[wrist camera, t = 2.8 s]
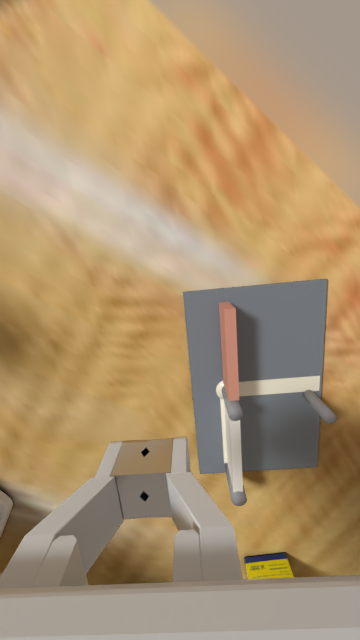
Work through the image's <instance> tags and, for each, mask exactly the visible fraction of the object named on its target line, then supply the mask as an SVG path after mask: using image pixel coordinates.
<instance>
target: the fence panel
mask: <svg viewBox="0 0 360 640" xmlns="http://www.w3.org/2000/svg"><path fill="white" fill-rule="evenodd" d="M219 317H220V334H221V352H222V369H223V384H224V387H225V390H226V393H227V396H228V400H229V401H235V400H239V379H238V354H237V329H236V308H235V307H234V306H233V305H232V304H230V303H229V302H220V303H219Z"/></svg>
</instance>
